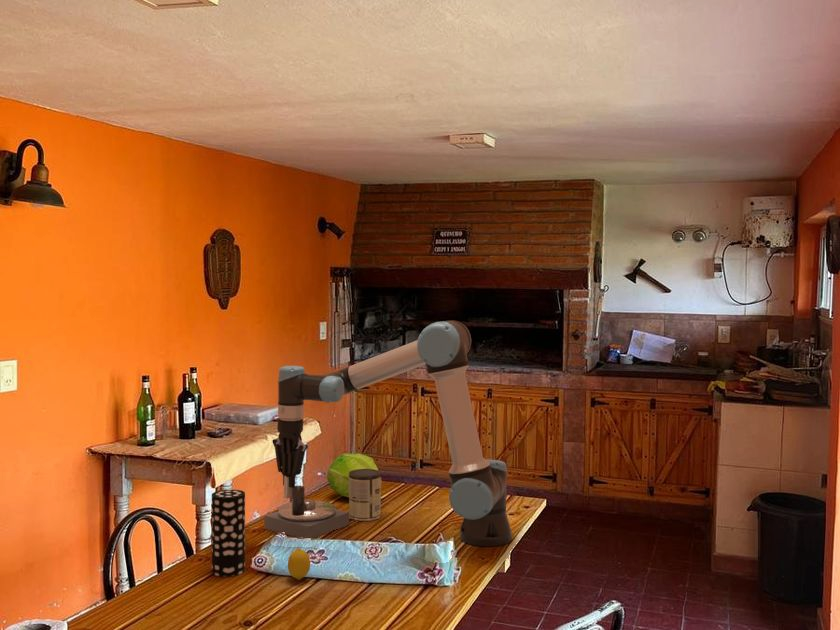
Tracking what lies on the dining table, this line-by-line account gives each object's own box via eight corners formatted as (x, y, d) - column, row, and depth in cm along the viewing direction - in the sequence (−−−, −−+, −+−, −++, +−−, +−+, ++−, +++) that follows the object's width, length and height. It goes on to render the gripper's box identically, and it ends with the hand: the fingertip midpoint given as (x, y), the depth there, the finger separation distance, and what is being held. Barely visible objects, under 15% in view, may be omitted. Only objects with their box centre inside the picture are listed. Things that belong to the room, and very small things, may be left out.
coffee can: (351, 511, 261) (351, 468, 260) (383, 512, 260) (383, 469, 259) (345, 520, 251) (345, 475, 250) (378, 521, 250) (378, 476, 249)
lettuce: (358, 514, 265) (358, 470, 262) (318, 496, 278) (317, 455, 275) (393, 498, 278) (393, 457, 275) (353, 482, 291) (353, 442, 288)
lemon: (285, 577, 202) (285, 546, 202) (307, 575, 204) (307, 543, 204) (290, 585, 197) (290, 553, 197) (312, 582, 199) (312, 550, 199)
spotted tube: (251, 568, 208) (251, 492, 207) (228, 579, 201) (228, 499, 200) (228, 562, 212) (228, 487, 211) (204, 572, 205) (204, 495, 204)
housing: (349, 525, 246) (349, 512, 246) (308, 540, 231) (308, 526, 231) (305, 514, 256) (305, 502, 256) (264, 528, 242) (264, 515, 241)
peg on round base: (293, 503, 254) (293, 473, 254) (343, 507, 249) (343, 477, 249) (268, 518, 238) (268, 486, 237) (322, 523, 233) (322, 491, 233)
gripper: (266, 417, 239) (264, 495, 240) (296, 423, 231) (294, 504, 232) (285, 414, 244) (283, 490, 246) (314, 419, 237) (313, 499, 238)
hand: (288, 497), depth 239 cm, fingers closed
